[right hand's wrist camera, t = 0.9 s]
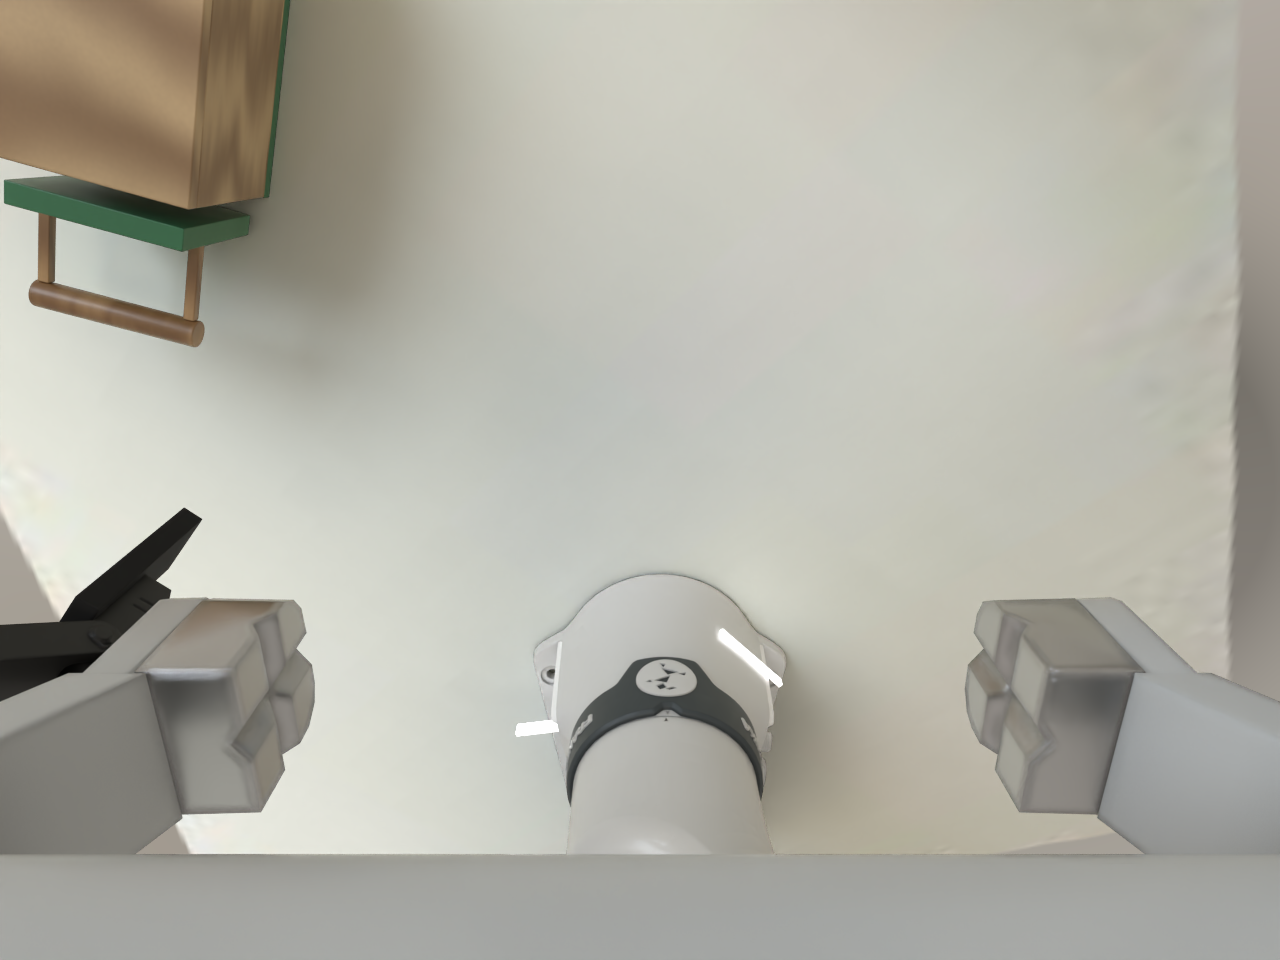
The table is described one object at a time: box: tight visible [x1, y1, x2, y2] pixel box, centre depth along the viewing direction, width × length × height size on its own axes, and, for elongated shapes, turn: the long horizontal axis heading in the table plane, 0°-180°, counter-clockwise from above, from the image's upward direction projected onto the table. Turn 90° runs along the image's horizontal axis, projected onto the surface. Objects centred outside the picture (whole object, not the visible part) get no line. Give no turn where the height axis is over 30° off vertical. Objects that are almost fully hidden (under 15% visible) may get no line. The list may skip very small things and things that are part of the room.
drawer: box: [4, 176, 250, 347], centre depth 45 cm, size 22×9×8 cm, turn 164°
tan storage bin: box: [0, 0, 290, 209], centre depth 43 cm, size 17×10×10 cm, turn 164°
